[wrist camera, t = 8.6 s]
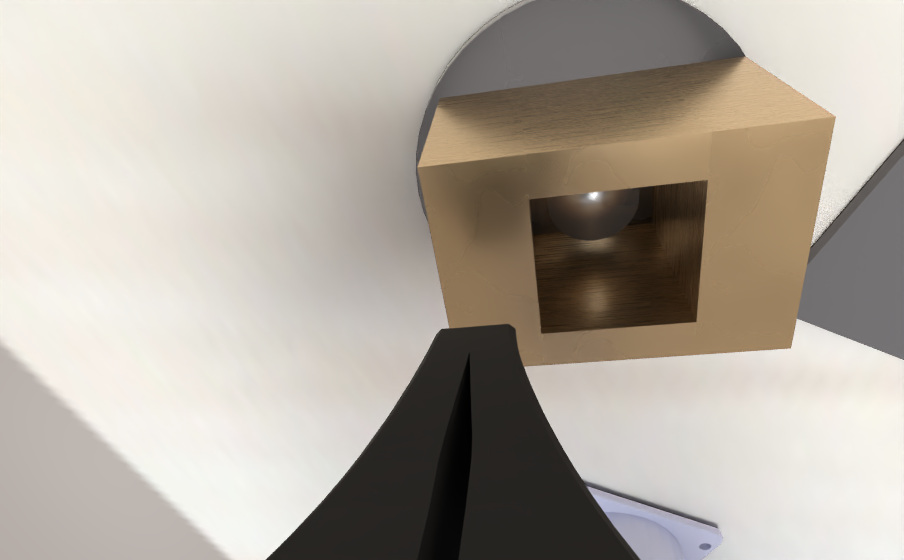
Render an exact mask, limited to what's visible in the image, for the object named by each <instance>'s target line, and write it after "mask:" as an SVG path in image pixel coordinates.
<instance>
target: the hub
mask: <svg viewBox="0 0 904 560" xmlns="http://www.w3.org/2000/svg"><path fill="white" fill-rule="evenodd" d="M741 56H745V55H744V53H743V51H742V50H741V48H740V47H739V46H738V44H737V43H736V42H735V41H734V40H733V39H732V38H731V37H730V36H729V34H728V33H727V32H726V31H725V30H724V29H723V28H722V27H721V26H719V25H718V24H717V23H716V22H714V21H713V20H712V19H711V18H709V17H708V16H707V15H706V14H704V13H703V12H701V11H699V10H698V9H696V8H694V7H692V6H691V5H689V4H687V3H685V2H683V1H682V0H523V1H521V2H519V3H517V4H516V5H514V6H512V7H510V8H508V9H506V10H505V11H503V12H501V13H500V14H499V15H497V16H496V17H495V18H493V19H492V20H490V21H489V22H488V23H486V24H485V25H484V26H482V27H481V28H480V29H479V30H478V31H477V32H476V33H475V34H474V35H473V36H472V37H471V38H470V39H469V40H468V41H467V42H466V43H465V44H464V45H463V46H462V47H461V49H460V50H459V51H458V52H457V54H456V55H455V56H454V57H453V59H452V60H451V61H450V62H449V64H448V66H447V67H446V69H445V71H444V72H443V74H442V76H441V77H440V79H439V80H438V82H437V85H436V87H435V89H434V91H433V94H432V96H431V98H430V101H429V103H428V106H427V108H426V111H425V115H424V118H423V122H422V125H421V129H420V132H419V139H418V146H417V153H416V175H417V183H418V190H419V196H420V199H421V203H422V207H423V210H424V214H425V216H426V218H427V213H426V208H425V203H424V198H423V193H422V188H421V183H420V178H419V173H418V168H417V167H418V164H419V161H420V158H421V155H422V152H423V149H424V146H425V143H426V140H427V136H428V133H429V130H430V127H431V124H432V121H433V118H434V115H435V112H436V109H437V106H438V103H439V99H440V98H445V97H452V96H460V95H467V94H474V93H481V92H489V91H496V90H503V89H510V88H518V87H525V86H532V85H539V84H546V83H554V82H561V81H568V80H575V79H583V78H590V77H597V76H604V75H611V74H619V73H626V72H633V71H640V70H648V69H655V68H662V67H669V66H676V65H684V64H691V63H698V62H705V61H713V60H720V59H727V58H734V57H741ZM745 57H746V56H745ZM652 201H653V186H647V187H638V188H629V189H620V190H611V191H602V192H593V193H583V194H574V195H565V196H556V197H547V198H538V199H530V207H531V217H532V228H533V235H537V234H547V233H557V232H563V233H564V234H566V235H568V236H570V237H572V238H575V239H579V240H586V241H593V240H600V239H604V238H607V237H610V236H612V235H614V234H616V233H617V232H619V231H620V230H622V229H623V228H624V227H625V226H627V225H636V224H646V223H652ZM427 221H428V218H427Z"/></svg>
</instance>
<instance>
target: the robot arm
mask: <svg viewBox="0 0 904 560" xmlns="http://www.w3.org/2000/svg"><path fill="white" fill-rule="evenodd" d="M722 541H723V537H722V534H721V531H720V530H719V529H717V528H715V527H712V526H709V525H706V524H703V523H700V522H697V521H693V520H690V519H687V518H684V517H681V516H678V515H675V514H672V513H669V512H666V511H662V510H659V509H656V508H653V507H650V506H647V505H644V504H641V503H638V502H635V501H631V500H628V499H625V498H622V497H619V496H616V495H613V494H610V493H607V492H604V491H601V490H597V489H594V488H591V487H588V486H586V485H585V483H584V482H583V480H582V479H581V477H580V476H579V474H578V473H577V471H576V470H575V468H574V466H573V465H572V463H571V461H570V460H569V458H568V456H567V455H566V453H565V451H564V450H563V448H562V446H561V444H560V443H559V441H558V439H557V437H556V435H555V434H554V432H553V430H552V428H551V426H550V424H549V422H548V420H547V418H546V417H545V415H544V413H543V411H542V408H541V406H540V404H539V402H538V400H537V398H536V395H535V393H534V391H533V389H532V387H531V384H530V382H529V379H528V377H527V374H526V372H525V369H524V366H523V363H522V360H521V357H520V353H519V350H518V344H517V336H516V329H515V328H514V327H513V326H511V325H510V324H499V325H486V326H474V327H461V328H449V329H441V330H440V331H439V332H438V333H437V334H436V336H435V338H434V340H433V342H432V344H431V346H430V348H429V350H428V352H427V354H426V355H425V357H424V359H423V361H422V363H421V364H420V366H419V368H418V370H417V371H416V373H415V375H414V376H413V378H412V380H411V381H410V383H409V385H408V386H407V388H406V389H405V391H404V393H403V394H402V396H401V397H400V399H399V401H398V402H397V404H396V405H395V407H394V408H393V410H392V412H391V413H390V415H389V416H388V417H387V419H386V420H385V422H384V423H383V425H382V426H381V427H380V429H379V430H378V432H377V433H376V434H375V436H374V437H373V438H372V440H371V441H370V443H369V444H368V445H367V447H366V448H365V450H364V451H363V452H362V454H361V455H360V456H359V458H358V459H357V460H356V461H355V463H354V464H353V465H352V467H351V468H350V469H349V470H348V472H347V473H346V474H345V475H344V476H343V478H342V479H341V480H340V481H339V482H338V484H337V485H336V486H335V487H334V488H333V489H332V491H331V492H330V493H329V494H328V495H327V496H326V498H325V499H324V500H323V501H322V502H321V503H320V504H319V505H318V507H317V508H316V509H315V510H314V511H313V512H312V513H311V514H310V515H309V516H308V517H307V518H306V519H305V520H304V521H303V523H302V524H301V525H300V526H299V527H298V528H297V529H296V530H295V531H294V532H293V533H292V534H291V535H290V536H289V537H288V538H287V539H286V540H285V541H284V542H283V543H282V544H281V545H280V546H279V547H278V548H277V549H276V550H275V551H274V552H273V553H272V554H271V555H270V556H269V557H268V558H267V559H266V560H702V559H703V558H705V557H706V556H707V555H708V554H709V553H710V552H711V551H712V550H714V549H715V548H716V547H717V546H718V545H719V544H720V543H721V542H722Z"/></svg>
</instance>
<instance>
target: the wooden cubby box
mask: <svg viewBox="0 0 904 560" xmlns="http://www.w3.org/2000/svg"><path fill="white" fill-rule="evenodd" d="M835 118H836V117H835V116H834V115H832V114H831V113H829V112H828V111H826V110H825V109H823V108H822V107H820V106H819V105H817V104H816V103H814V102H813V101H811V100H810V99H808V98H807V97H805V96H804V95H802V94H801V93H799V92H798V91H796V90H795V89H793V88H792V87H790V86H789V85H787V84H786V83H784V82H783V81H781V80H780V79H778V78H777V77H775V76H774V75H772V74H771V73H769V72H768V71H766V70H765V69H763V68H762V67H760V66H759V65H757V64H756V63H754V62H753V61H751V60H750V59H748V58H747V57H745V56H741V57H734V58H727V59H720V60H713V61H705V62H698V63H691V64H684V65H676V66H669V67H662V68H655V69H648V70H640V71H633V72H626V73H619V74H611V75H604V76H597V77H590V78H583V79H575V80H568V81H561V82H554V83H546V84H539V85H532V86H525V87H518V88H510V89H503V90H496V91H489V92H481V93H474V94H467V95H460V96H452V97H445V98H440V99H439V103H438V106H437V109H436V112H435V115H434V118H433V121H432V124H431V127H430V130H429V133H428V136H427V140H426V143H425V146H424V149H423V152H422V155H421V158H420V161H419V164H418V167H417V168H418V173H419V178H420V183H421V188H422V193H423V198H424V203H425V208H426V213H427V218H428V223H429V228H430V233H431V238H432V243H433V248H434V253H435V258H436V263H437V268H438V273H439V278H440V283H441V288H442V293H443V298H444V303H445V308H446V313H447V318H448V323H449V328H461V327H474V326H486V325H499V324H510V325H511V326H513V327H514V328H515V329H516V336H517V344H518V350H519V353H520V357H521V360H522V363H523V366H538V365H553V364H568V363H582V362H597V361H612V360H626V359H641V358H656V357H670V356H685V355H700V354H714V353H729V352H744V351H759V350H773V349H788V348H791V345H792V340H793V335H794V329H795V324H796V319H797V314H798V309H799V304H800V298H801V293H802V288H803V283H804V278H805V273H806V267H807V262H808V257H809V252H810V247H811V242H812V237H813V231H814V226H815V221H816V216H817V211H818V206H819V200H820V195H821V190H822V185H823V180H824V175H825V169H826V164H827V159H828V154H829V149H830V144H831V139H832V133H833V128H834V123H835ZM647 186H653V201H652V223H646V224H636V225H627V226H625V227H624V228H623V229H622V230H620V231H619V232H617V233H616V234H614V235H612V236H610V237H607V238H604V239H600V240H593V241H586V240H579V239H575V238H572V237H570V236H568V235H566V234H564V233H563V232H557V233H547V234H537V235H533V228H532V217H531V207H530V199H538V198H547V197H556V196H565V195H574V194H583V193H593V192H602V191H611V190H620V189H629V188H638V187H647Z"/></svg>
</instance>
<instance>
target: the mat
mask: <svg viewBox="0 0 904 560" xmlns="http://www.w3.org/2000/svg"><path fill="white" fill-rule="evenodd" d="M797 319H800V320H802V321H805V322H807V323H810V324H813V325H815V326H818V327H820V328H823V329H826V330H828V331H831V332H833V333H836V334H838V335H841V336H844V337H846V338H849V339H851V340H854V341H857V342H859V343H862V344H864V345H867V346H869V347H872V348H875V349H877V350H880V351H882V352H885V353H888V354H890V355H893V356H895V357H898V358H900V359H903V360H904V141H903V142H902V143H901V144H900V145H899V146H898V148H897V149H896V150H895V151H894V152H893V153H892V155H891V156H890V157H889V158H888V159H887V160H886V162H885V163H884V164H883V165H882V166H881V167H880V169H879V170H878V171H877V172H876V173H875V174H874V176H873V177H872V178H871V179H870V180H869V181H868V183H867V184H866V185H865V186H864V187H863V188H862V190H861V191H860V192H859V193H858V194H857V195H856V197H855V198H854V199H853V200H852V201H851V202H850V204H849V205H848V206H847V207H846V208H845V209H844V211H843V212H842V213H841V214H840V215H839V216H838V218H837V219H836V220H835V221H834V222H833V223H832V225H831V226H830V227H829V228H828V229H827V230H826V232H825V233H824V234H823V235H822V236H821V237H820V239H819V240H818V241H817V242H816V243H815V244H814V246H813V247H812V248H811V249H810V252H809V257H808V262H807V267H806V273H805V278H804V283H803V288H802V293H801V298H800V304H799V309H798V314H797Z"/></svg>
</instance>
